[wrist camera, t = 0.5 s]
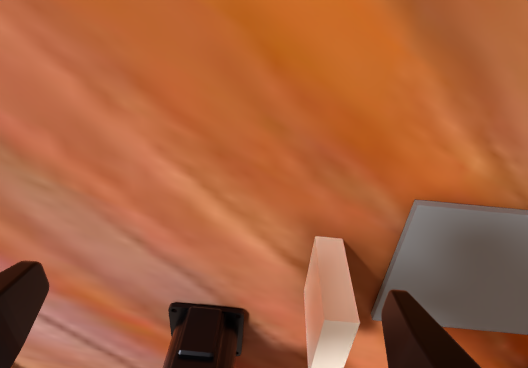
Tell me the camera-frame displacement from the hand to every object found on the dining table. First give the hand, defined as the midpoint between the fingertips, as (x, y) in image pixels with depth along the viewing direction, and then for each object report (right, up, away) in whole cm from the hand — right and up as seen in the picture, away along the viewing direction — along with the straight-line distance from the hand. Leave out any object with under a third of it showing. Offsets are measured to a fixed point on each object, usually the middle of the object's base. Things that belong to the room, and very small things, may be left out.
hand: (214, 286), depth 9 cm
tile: (+6, -4, +18) cm, 19 cm away
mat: (+18, -4, +17) cm, 25 cm away
